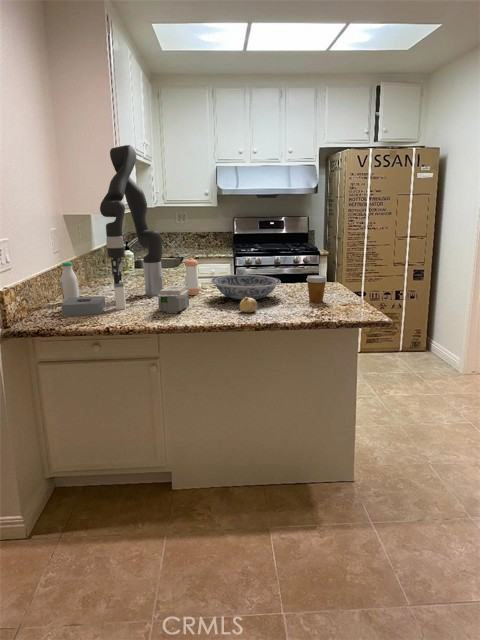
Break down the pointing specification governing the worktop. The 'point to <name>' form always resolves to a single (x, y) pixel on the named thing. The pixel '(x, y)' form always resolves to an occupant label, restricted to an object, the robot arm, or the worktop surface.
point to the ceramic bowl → (245, 286)
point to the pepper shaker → (191, 277)
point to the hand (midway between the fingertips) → (118, 282)
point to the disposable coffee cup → (316, 288)
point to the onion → (248, 305)
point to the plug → (120, 296)
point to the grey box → (173, 299)
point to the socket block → (83, 306)
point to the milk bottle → (69, 282)
